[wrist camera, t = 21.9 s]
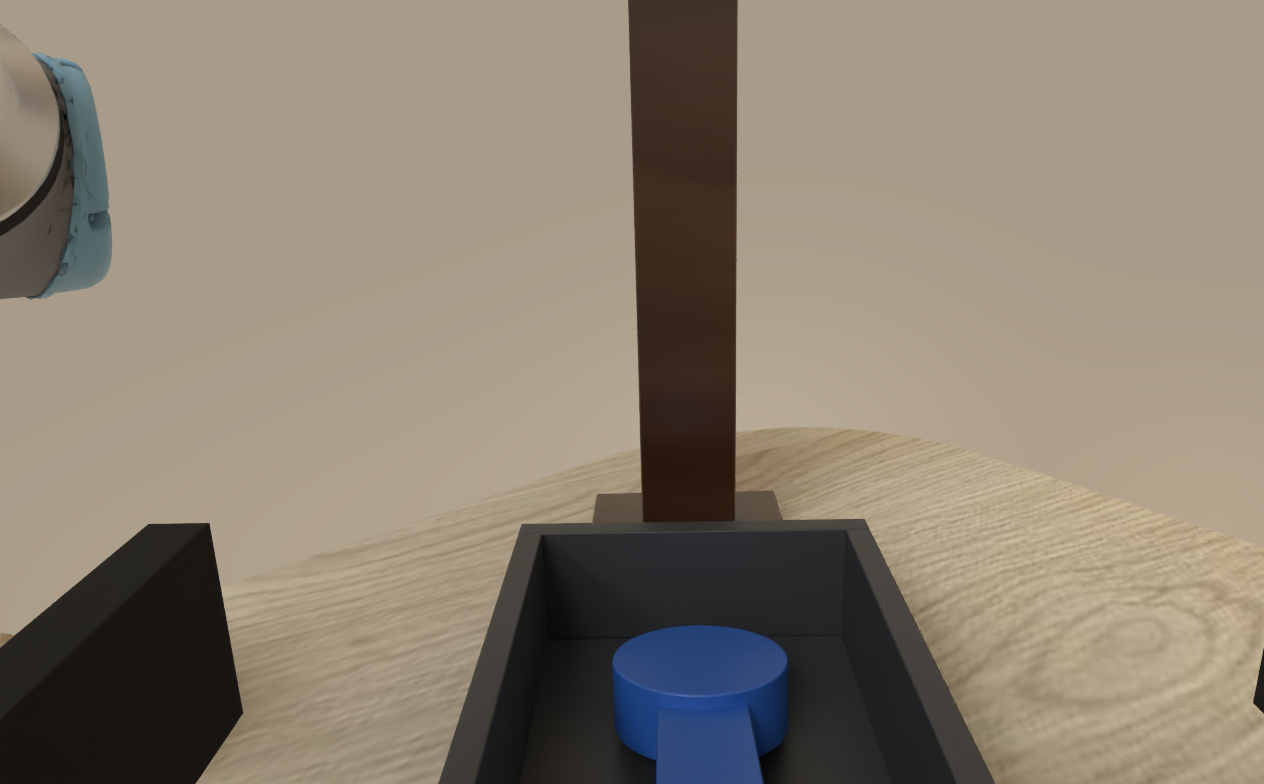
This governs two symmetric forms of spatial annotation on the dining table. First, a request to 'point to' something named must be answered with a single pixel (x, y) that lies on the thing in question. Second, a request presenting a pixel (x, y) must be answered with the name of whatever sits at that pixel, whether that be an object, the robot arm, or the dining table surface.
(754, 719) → the blue disc paddle
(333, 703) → the dining table surface
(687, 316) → the stand
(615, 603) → the holder
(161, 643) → the robot arm
